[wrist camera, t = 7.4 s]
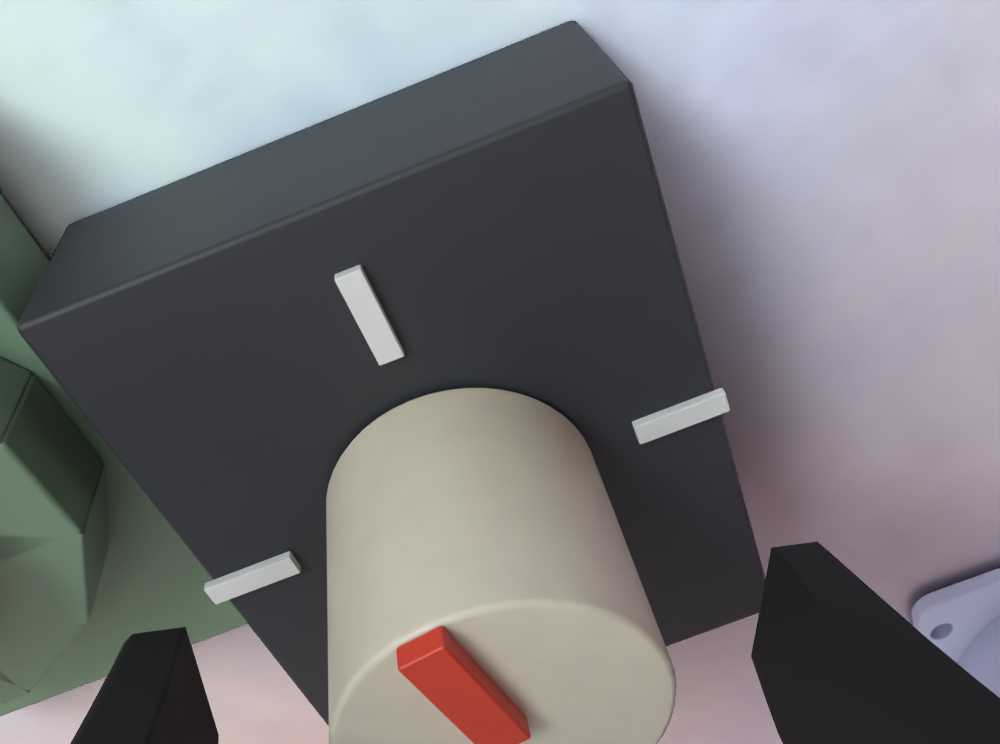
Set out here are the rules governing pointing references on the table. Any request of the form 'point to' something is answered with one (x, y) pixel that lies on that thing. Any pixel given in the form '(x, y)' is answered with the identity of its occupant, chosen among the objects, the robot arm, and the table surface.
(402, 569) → the knob
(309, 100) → the table surface
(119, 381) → the control panel
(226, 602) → the button housing
